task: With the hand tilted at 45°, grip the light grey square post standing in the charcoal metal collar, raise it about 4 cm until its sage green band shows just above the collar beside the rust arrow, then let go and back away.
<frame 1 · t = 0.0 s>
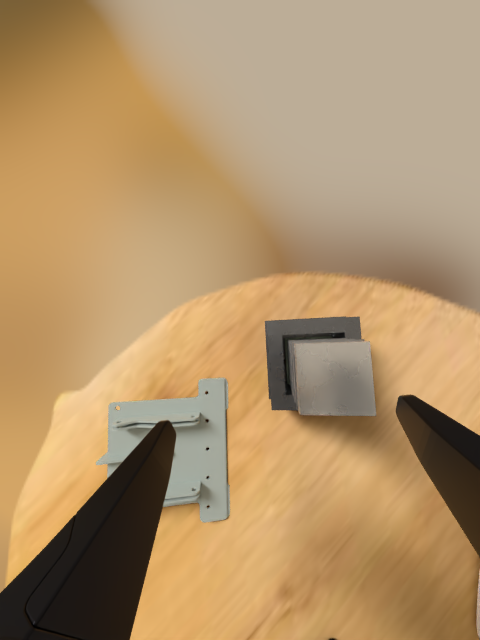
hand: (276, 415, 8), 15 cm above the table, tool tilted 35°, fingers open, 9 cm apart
column: (317, 366, 16), point 6 cm above the table, slide at 0.0 cm
collar: (304, 356, 23), on the table
metal bracket: (177, 440, 25), on the table
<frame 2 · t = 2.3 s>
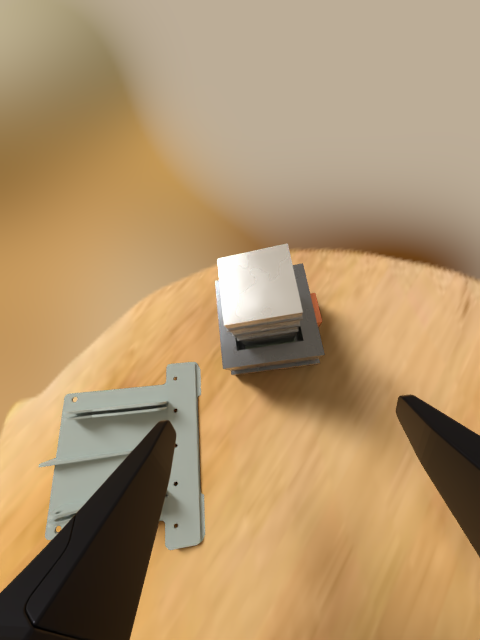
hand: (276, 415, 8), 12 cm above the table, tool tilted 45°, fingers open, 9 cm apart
column: (263, 310, 15), point 7 cm above the table, slide at 0.0 cm
collar: (268, 330, 21), on the table
metal bracket: (143, 443, 21), on the table
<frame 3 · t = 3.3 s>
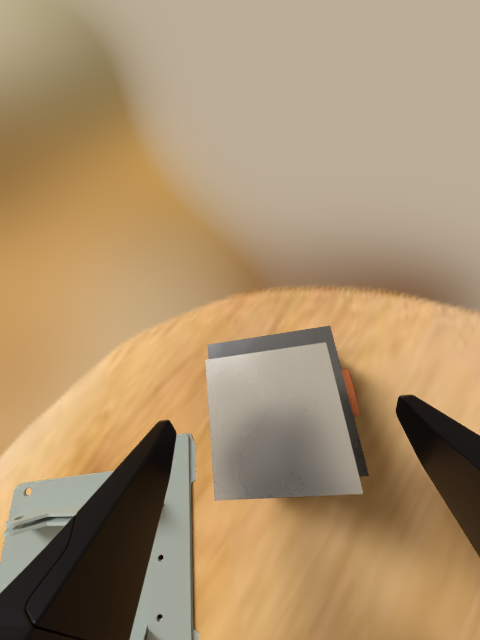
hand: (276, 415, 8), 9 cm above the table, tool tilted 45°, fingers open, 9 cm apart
column: (276, 402, 11), point 7 cm above the table, slide at 0.0 cm
collar: (278, 394, 17), on the table
metal bracket: (121, 541, 16), on the table
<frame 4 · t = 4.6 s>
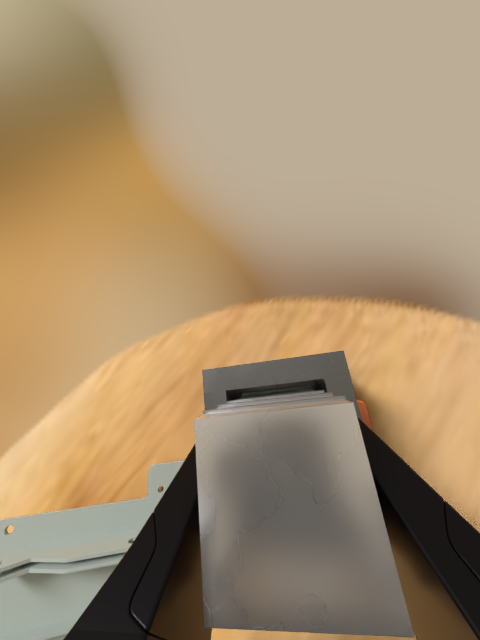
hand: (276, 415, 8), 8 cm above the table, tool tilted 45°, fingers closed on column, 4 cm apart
column: (282, 446, 9), point 6 cm above the table, slide at 0.0 cm, touching gripper
collar: (281, 418, 15), on the table
metal bracket: (115, 579, 15), on the table
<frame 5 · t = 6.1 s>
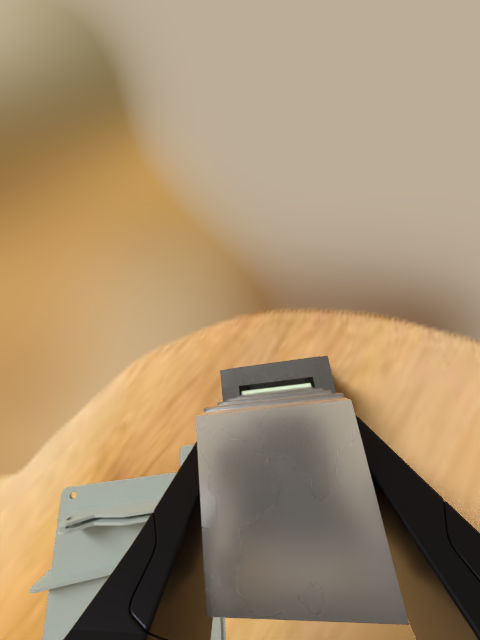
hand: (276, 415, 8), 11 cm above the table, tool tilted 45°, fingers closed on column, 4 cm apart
column: (281, 443, 9), point 10 cm above the table, slide at 3.5 cm, touching gripper
collar: (281, 409, 19), on the table
metal bracket: (153, 538, 18), on the table
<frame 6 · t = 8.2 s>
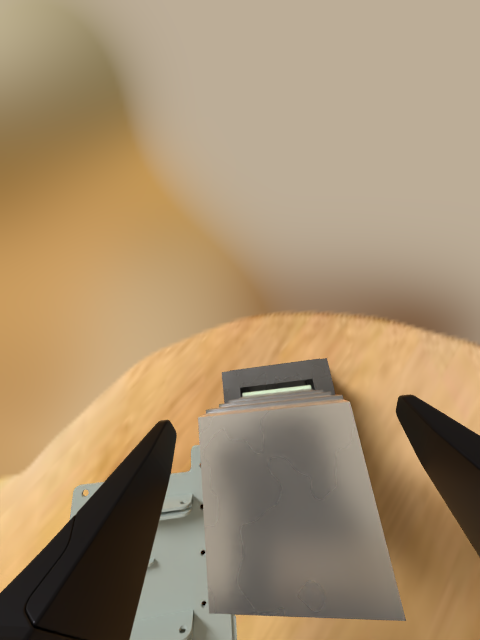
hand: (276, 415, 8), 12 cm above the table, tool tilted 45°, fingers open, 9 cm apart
column: (282, 444, 9), point 10 cm above the table, slide at 3.7 cm
collar: (281, 410, 19), on the table
metal bracket: (163, 537, 18), on the table
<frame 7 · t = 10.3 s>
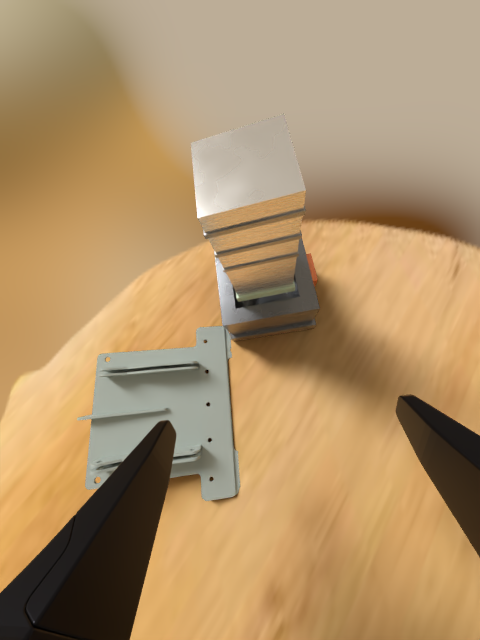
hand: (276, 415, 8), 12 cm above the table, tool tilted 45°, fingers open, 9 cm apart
column: (255, 237, 12), point 10 cm above the table, slide at 3.7 cm
collar: (266, 298, 22), on the table
metal bracket: (173, 405, 22), on the table
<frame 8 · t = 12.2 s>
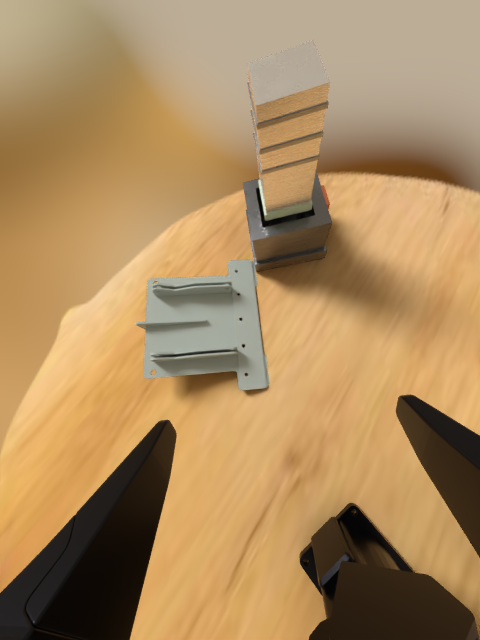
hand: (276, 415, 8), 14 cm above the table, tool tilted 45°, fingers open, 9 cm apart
column: (284, 152, 16), point 10 cm above the table, slide at 3.7 cm
collar: (283, 236, 26), on the table
metal bracket: (209, 327, 25), on the table
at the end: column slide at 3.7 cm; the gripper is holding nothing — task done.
